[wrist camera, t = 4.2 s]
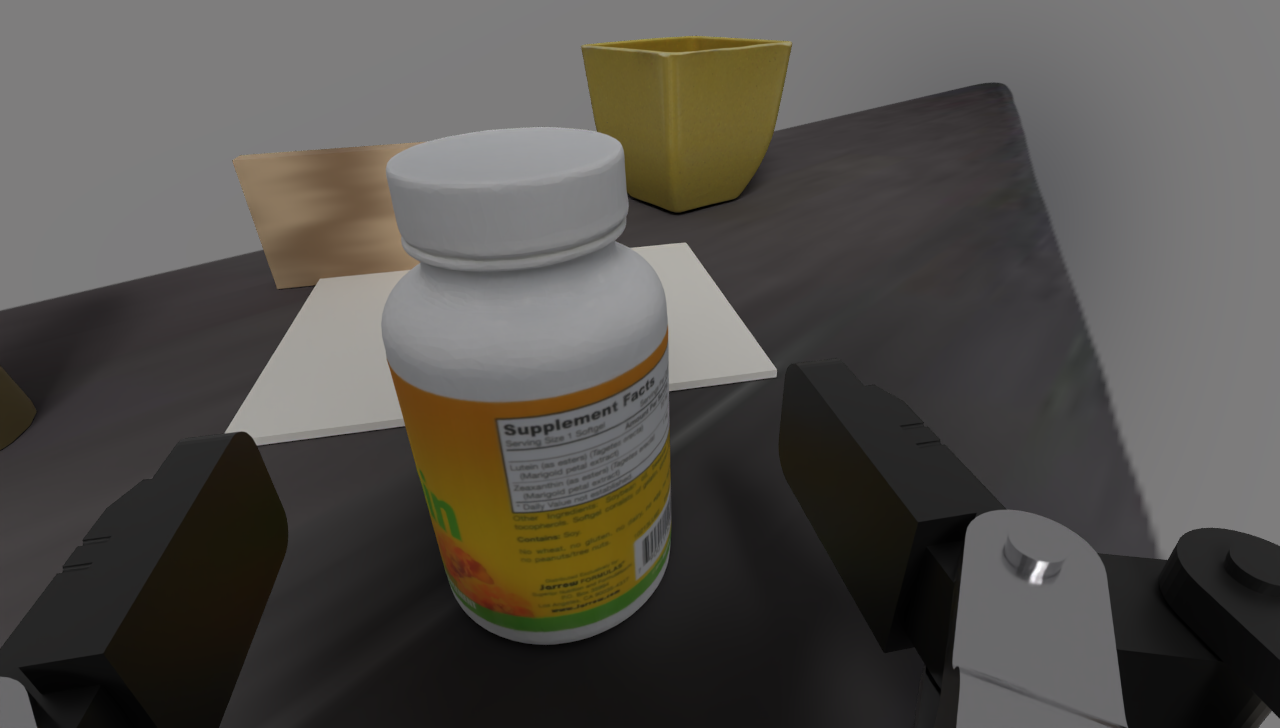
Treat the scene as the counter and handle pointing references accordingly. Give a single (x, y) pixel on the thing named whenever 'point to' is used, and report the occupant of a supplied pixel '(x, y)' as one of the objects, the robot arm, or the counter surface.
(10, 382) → the olive chess pawn
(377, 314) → the paper
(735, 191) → the flower pot
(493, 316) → the supplement bottle
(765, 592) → the counter surface
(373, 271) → the wooden block
